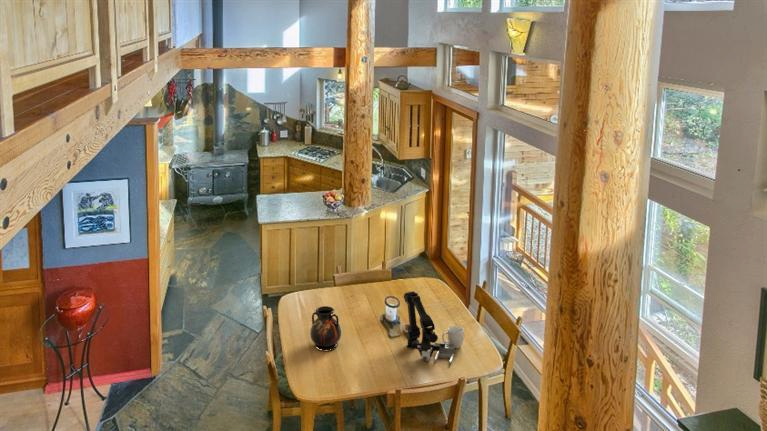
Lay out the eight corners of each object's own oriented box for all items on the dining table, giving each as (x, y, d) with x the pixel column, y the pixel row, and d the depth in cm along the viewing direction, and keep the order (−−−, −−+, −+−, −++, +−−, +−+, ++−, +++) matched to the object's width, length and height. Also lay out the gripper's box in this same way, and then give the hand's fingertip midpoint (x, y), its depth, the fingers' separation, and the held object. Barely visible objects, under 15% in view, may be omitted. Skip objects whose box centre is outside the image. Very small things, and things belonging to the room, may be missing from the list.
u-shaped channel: (430, 362, 431) (430, 351, 428) (435, 350, 446) (436, 339, 444) (450, 365, 427) (451, 354, 425) (455, 352, 443) (455, 342, 440)
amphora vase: (306, 352, 445) (304, 315, 437) (316, 337, 465) (315, 301, 457) (336, 355, 441) (334, 318, 432) (345, 340, 460) (344, 304, 452)
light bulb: (420, 362, 431) (420, 352, 429) (422, 356, 439) (422, 346, 437) (428, 363, 430) (429, 354, 427) (431, 357, 437) (431, 348, 435)
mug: (441, 349, 447) (441, 332, 443) (442, 341, 458) (442, 324, 454) (463, 350, 445) (463, 333, 441) (463, 342, 456) (464, 325, 452)
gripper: (409, 339, 425) (409, 361, 430) (437, 343, 420) (437, 364, 425) (413, 332, 435) (413, 352, 440) (441, 335, 430) (440, 356, 435)
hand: (426, 356), depth 435 cm, fingers closed on light bulb, 6 cm apart
